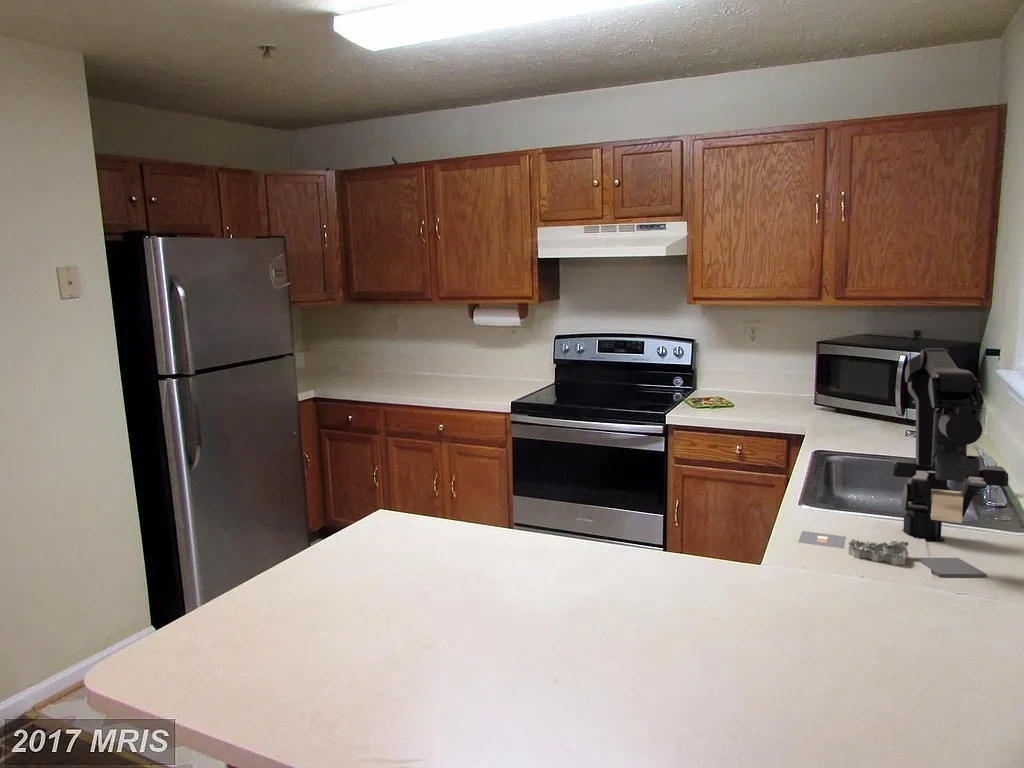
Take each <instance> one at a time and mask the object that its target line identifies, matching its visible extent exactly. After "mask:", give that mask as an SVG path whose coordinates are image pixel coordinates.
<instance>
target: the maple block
mask: <svg viewBox="0 0 1024 768" xmlns="http://www.w3.org/2000/svg"><path fill="white" fill-rule="evenodd" d="M931 505H932V506H931V514H930V515H931V520H939V521H942V522H948V523H958V524H962V523H963V517H962V511H963V493H962V491H959V490H957V491H955V490H950V491H948V490H938V489H931Z"/></svg>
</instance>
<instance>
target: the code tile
mask: <svg viewBox="0 0 1024 768" xmlns="http://www.w3.org/2000/svg"><path fill="white" fill-rule="evenodd" d="M846 537H847V536H844V535H837V534H829V533H822V532H814V531H813V532H812V531H805V530H802V531H801V533H800V536H799V538H798V541H797V543H801V544H808V545H816V546H822V547H823V546H824V547H830V548H836V549H837V548H838V549H845V543H846Z"/></svg>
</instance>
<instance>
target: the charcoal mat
mask: <svg viewBox="0 0 1024 768" xmlns="http://www.w3.org/2000/svg"><path fill="white" fill-rule="evenodd" d="M913 559H915V560H916V561H917V562H919V563H920V564H922V565H924V566H925V567H927V568H928V569H930V570H931V573H932V574H934V575H935V576H936V577H939V578H987V576H988V575H987V573H986V572H984V571H982V570H980V569H979V568H977V567H975V566H973V565H972V564H970V563H968V562H966V561H965V560H963V559H961V558H959V557H913Z"/></svg>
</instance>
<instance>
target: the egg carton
mask: <svg viewBox="0 0 1024 768" xmlns="http://www.w3.org/2000/svg"><path fill="white" fill-rule="evenodd" d="M847 544H848V545H849V546H848V555H849V556H852V557H853V558H855V559H861V558H865V559H870V560H871V561H873V562H887V563H890V564H891V565H894V566H898V565H906V560H908V557H909V551H908V548H909V542H908V541H903V540H891V542H890V543H889V542H886V541H882V542H874V541H860V540H859V539H858V540H857V539H854V538H852V539H851V540H850V541H848V542H847Z"/></svg>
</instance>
